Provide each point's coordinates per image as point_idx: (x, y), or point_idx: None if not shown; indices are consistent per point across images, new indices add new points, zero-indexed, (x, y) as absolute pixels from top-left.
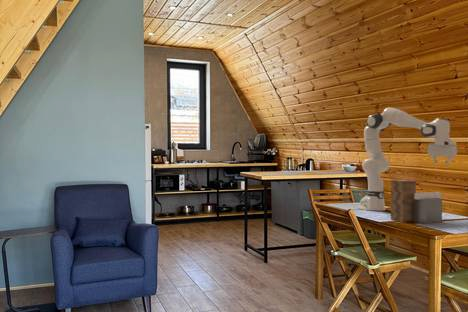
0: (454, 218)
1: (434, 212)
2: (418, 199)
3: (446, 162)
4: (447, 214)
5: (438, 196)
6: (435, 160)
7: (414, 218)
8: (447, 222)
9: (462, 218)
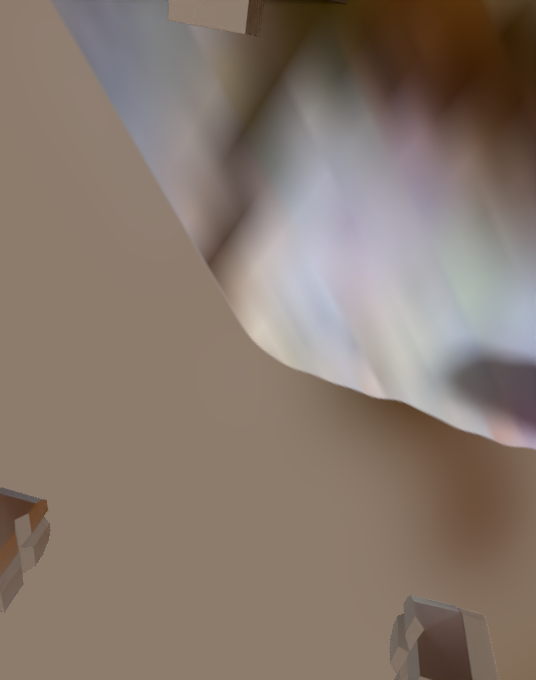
0: (258, 251)
1: None
2: None
3: (3, 509)
4: (373, 373)
5: None
6: (428, 676)
7: None
8: None
9: (228, 292)
